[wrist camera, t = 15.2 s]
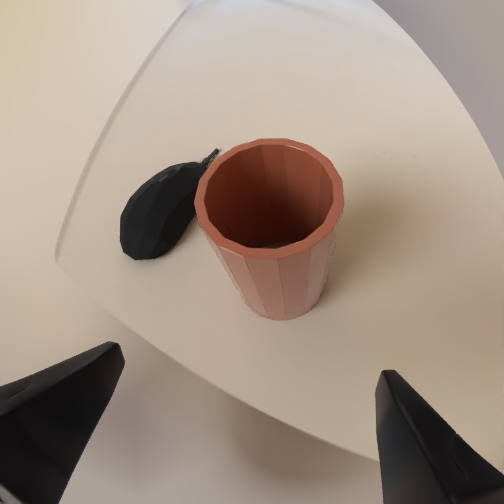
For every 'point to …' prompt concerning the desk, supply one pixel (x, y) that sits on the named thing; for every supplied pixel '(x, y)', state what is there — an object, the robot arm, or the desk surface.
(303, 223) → the pen cup
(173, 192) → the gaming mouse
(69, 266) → the desk surface
